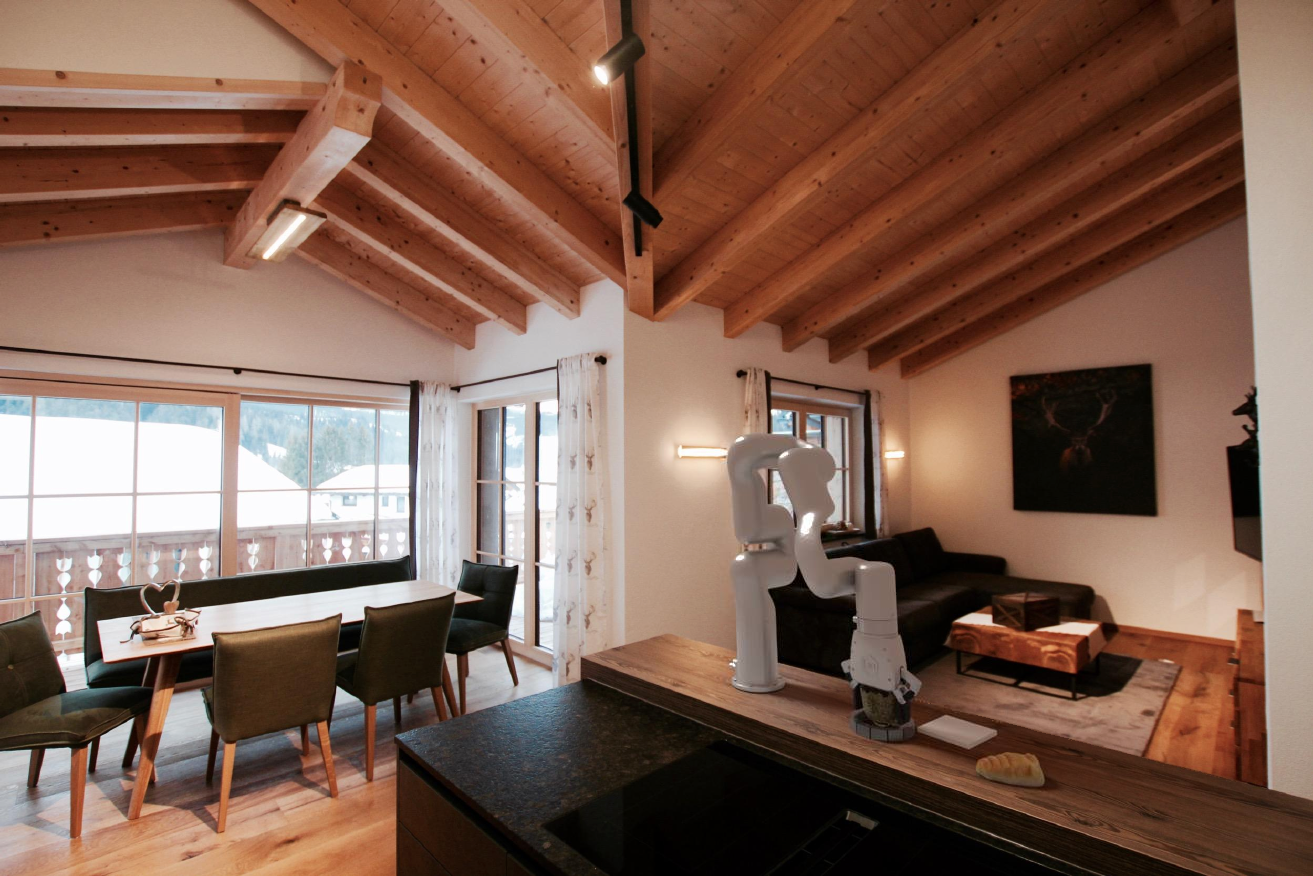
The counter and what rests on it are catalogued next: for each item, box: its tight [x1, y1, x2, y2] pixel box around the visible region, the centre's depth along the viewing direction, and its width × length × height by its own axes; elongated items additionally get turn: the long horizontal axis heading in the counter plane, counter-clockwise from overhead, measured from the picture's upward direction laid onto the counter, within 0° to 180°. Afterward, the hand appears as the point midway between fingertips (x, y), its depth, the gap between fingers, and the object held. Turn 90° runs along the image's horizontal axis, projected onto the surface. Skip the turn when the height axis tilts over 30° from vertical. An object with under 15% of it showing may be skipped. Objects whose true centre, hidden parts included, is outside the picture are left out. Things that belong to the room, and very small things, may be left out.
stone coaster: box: [916, 714, 998, 750], centre depth 118 cm, size 10×10×1 cm
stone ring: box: [849, 708, 915, 743], centre depth 121 cm, size 12×12×2 cm
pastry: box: [975, 751, 1045, 787], centre depth 101 cm, size 9×7×4 cm
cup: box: [860, 684, 899, 728], centre depth 121 cm, size 8×7×8 cm
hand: (881, 715), depth 121 cm, fingers open, 9 cm apart
